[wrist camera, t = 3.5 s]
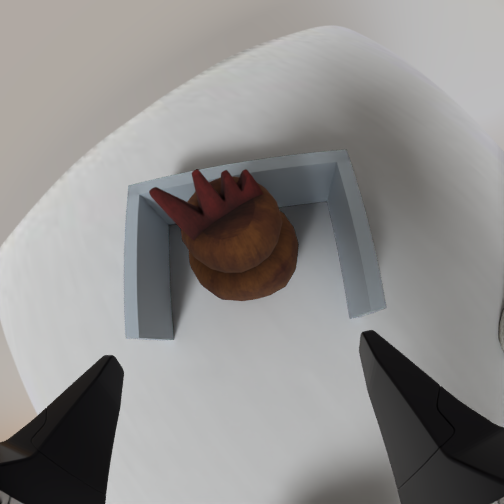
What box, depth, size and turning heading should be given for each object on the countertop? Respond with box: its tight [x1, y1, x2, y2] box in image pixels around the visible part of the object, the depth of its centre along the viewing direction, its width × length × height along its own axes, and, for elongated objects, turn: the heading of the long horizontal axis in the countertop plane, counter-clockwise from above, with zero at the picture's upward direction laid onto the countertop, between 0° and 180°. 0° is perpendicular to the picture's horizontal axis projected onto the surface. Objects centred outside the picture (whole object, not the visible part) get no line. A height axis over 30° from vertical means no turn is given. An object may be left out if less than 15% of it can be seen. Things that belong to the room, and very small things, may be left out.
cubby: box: [124, 149, 386, 340], centre depth 21 cm, size 11×16×6 cm
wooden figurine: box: [149, 169, 298, 301], centre depth 16 cm, size 7×6×15 cm
